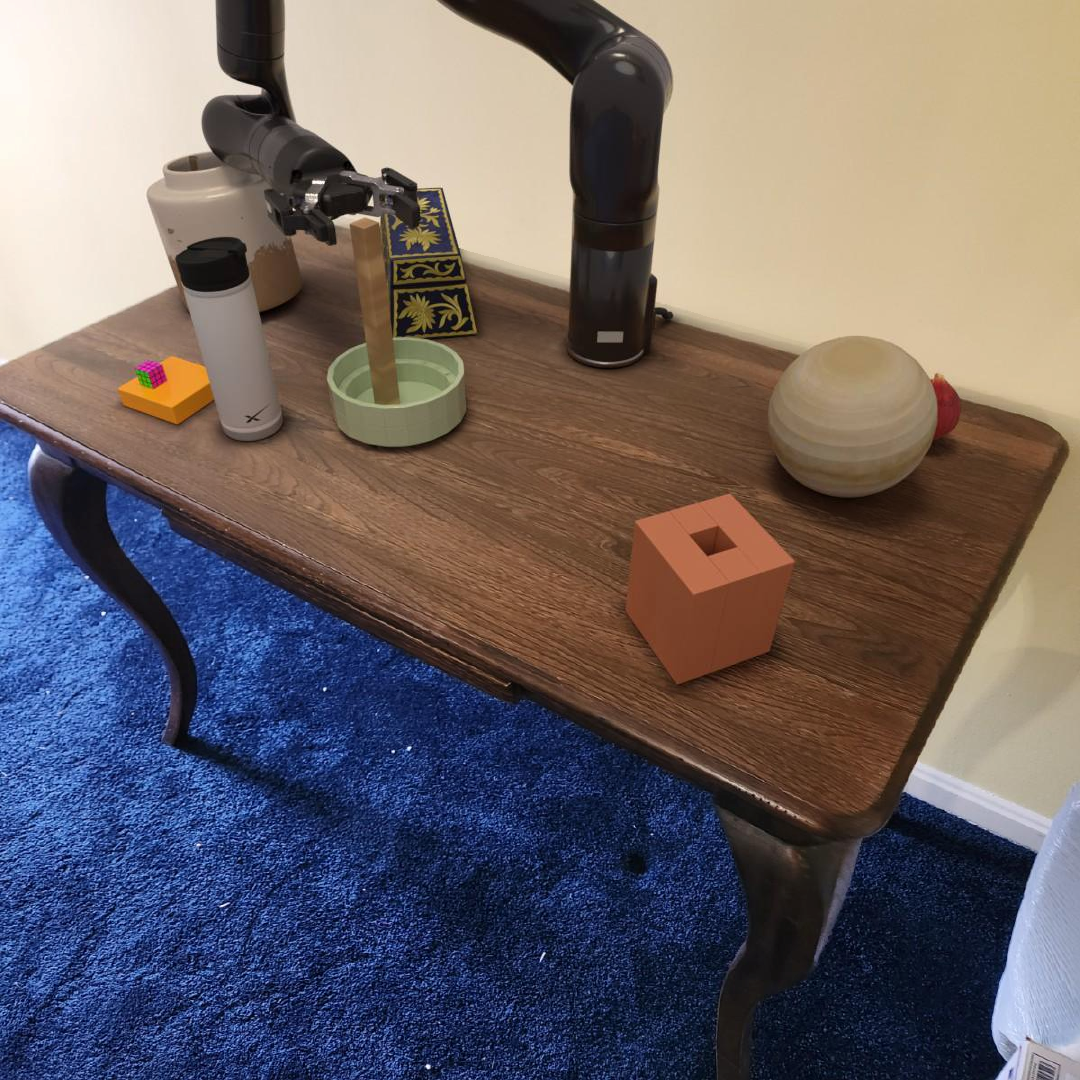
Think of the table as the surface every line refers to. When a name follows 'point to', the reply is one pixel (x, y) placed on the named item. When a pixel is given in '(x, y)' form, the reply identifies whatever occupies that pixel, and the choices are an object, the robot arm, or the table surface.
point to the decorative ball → (852, 416)
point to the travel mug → (231, 336)
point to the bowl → (424, 394)
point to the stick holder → (706, 586)
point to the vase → (224, 221)
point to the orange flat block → (168, 389)
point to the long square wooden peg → (375, 310)
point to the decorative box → (426, 273)
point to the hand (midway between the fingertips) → (375, 226)
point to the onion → (945, 406)
